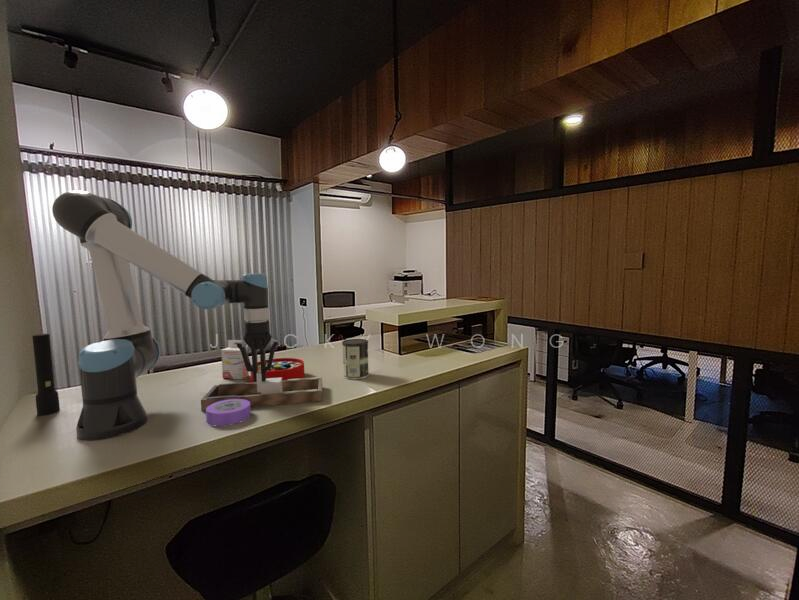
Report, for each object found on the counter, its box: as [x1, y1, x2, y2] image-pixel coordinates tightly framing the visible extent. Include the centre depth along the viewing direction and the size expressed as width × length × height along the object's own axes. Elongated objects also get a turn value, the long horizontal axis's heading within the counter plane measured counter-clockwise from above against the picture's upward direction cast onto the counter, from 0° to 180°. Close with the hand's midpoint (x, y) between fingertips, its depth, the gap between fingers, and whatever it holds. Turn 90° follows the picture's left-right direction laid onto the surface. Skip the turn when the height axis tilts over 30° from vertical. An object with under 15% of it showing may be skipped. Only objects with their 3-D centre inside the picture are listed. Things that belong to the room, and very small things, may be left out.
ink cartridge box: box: [221, 339, 249, 380], centre depth 145 cm, size 9×5×15 cm, turn 84°
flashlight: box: [31, 333, 60, 416], centre depth 110 cm, size 5×24×5 cm
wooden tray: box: [200, 377, 323, 412], centre depth 122 cm, size 36×14×4 cm, turn 101°
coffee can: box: [341, 338, 370, 381], centre depth 145 cm, size 10×10×14 cm
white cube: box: [260, 377, 284, 394], centre depth 122 cm, size 6×6×6 cm
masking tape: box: [205, 399, 252, 427], centre depth 106 cm, size 12×12×4 cm
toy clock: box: [250, 357, 305, 383], centre depth 144 cm, size 20×6×20 cm
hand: (260, 391), depth 121 cm, fingers closed
